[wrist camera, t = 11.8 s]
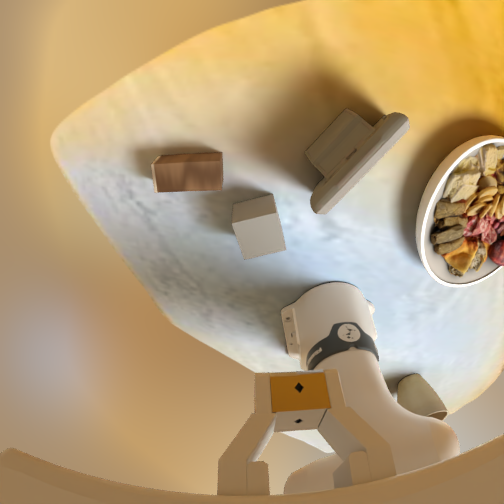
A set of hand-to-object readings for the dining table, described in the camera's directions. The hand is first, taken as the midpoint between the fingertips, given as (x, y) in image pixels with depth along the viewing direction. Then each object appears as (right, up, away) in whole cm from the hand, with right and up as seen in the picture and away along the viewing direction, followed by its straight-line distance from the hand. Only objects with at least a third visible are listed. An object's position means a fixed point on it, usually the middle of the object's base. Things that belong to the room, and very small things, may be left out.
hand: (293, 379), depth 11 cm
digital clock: (+12, +19, +30) cm, 37 cm away
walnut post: (-15, +15, +29) cm, 36 cm away
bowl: (+39, +13, +35) cm, 54 cm away
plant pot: (+45, -33, +67) cm, 87 cm away
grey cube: (-1, +10, +36) cm, 37 cm away
